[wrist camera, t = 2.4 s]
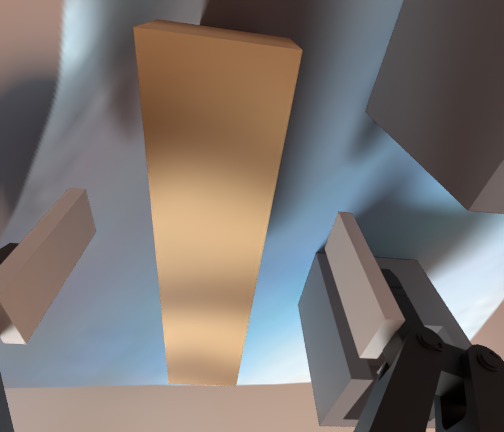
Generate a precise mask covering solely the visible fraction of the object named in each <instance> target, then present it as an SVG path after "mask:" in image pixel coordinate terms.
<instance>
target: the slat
mask: <svg viewBox="0 0 504 432" xmlns="http://www.w3.org/2000/svg"><path fill="white" fill-rule="evenodd" d="M133 28H134V38H135V48H136V59H137V69H138V79H139V89H140V99H141V109H142V119H143V129H144V139H145V149H146V159H147V169H148V180H149V190H150V200H151V210H152V220H153V230H154V240H155V250H156V260H157V270H158V280H159V290H160V301H161V311H162V321H163V331H164V341H165V351H166V361H167V371H168V381H169V384H191V385H224V386H236V383H237V378H238V373H239V368H240V363H241V358H242V353H243V348H244V343H245V338H246V333H247V328H248V323H249V318H250V313H251V308H252V303H253V298H254V293H255V288H256V283H257V278H258V273H259V267H260V262H261V257H262V252H263V247H264V242H265V237H266V232H267V227H268V222H269V217H270V212H271V207H272V202H273V197H274V192H275V187H276V182H277V177H278V172H279V167H280V162H281V157H282V152H283V147H284V141H285V136H286V131H287V126H288V121H289V116H290V111H291V106H292V101H293V96H294V91H295V86H296V81H297V76H298V71H299V66H300V61H301V56H302V51H303V50H302V49H301V48H300V47H299V46H298V45H296V44H295V43H294V42H293V41H292V40H291V39H290V38H285V37H278V36H271V35H264V34H257V33H250V32H243V31H236V30H229V29H222V28H215V27H208V26H201V25H194V24H187V23H180V22H173V21H165V20H155V21H151V22H148V23H145V24H141V25H138V26H134V27H133Z"/></svg>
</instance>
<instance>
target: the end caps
mask: <svg viewBox="0 0 504 432" xmlns="http://www.w3.org/2000/svg"><path fill="white" fill-rule="evenodd" d="M365 112H366V113H367V114H368V115H369V116H370V117H371V118H372V119H373V120H374V121H375V122H376V123H377V124H378V125H379V126H381V127H382V128H383V129H384V130H385V131H386V132H387V133H388V134H389V135H390V136H391V137H392V138H393V139H394V140H395V141H396V142H397V143H398V144H399V145H400V146H401V147H402V148H403V149H404V150H405V151H406V152H408V153H409V154H410V155H411V156H412V157H413V158H414V159H415V160H416V161H417V162H418V163H419V164H420V165H421V166H422V167H423V168H424V169H425V170H426V171H427V172H428V173H429V174H430V175H431V176H432V177H434V178H435V179H436V180H437V181H438V182H439V183H440V184H441V185H442V186H443V187H444V188H445V189H446V190H447V191H448V192H449V193H450V194H451V195H452V196H453V197H454V198H455V199H456V200H457V201H458V202H459V203H461V204H462V205H463V206H464V207H465V208H466V209H467V210H468V211H476V212H487V213H498V214H504V0H404V2H403V4H402V7H401V10H400V13H399V16H398V19H397V22H396V25H395V27H394V30H393V33H392V36H391V39H390V42H389V45H388V48H387V50H386V53H385V56H384V59H383V62H382V65H381V68H380V71H379V73H378V76H377V79H376V82H375V85H374V88H373V91H372V94H371V96H370V99H369V102H368V105H367V108H366V111H365ZM374 258H375V260H376V262H377V264H378V266H379V268H381V269H390V270H391V271H392V272H393V273H394V274H395V275H396V276H397V277H398V279H399V281H400V283H401V284H402V286H403V289H404V290H405V292H406V294H407V297H409V299H410V301H411V303H412V305H413V306H414V308H415V310H416V312H417V314H418V316H419V317H420V319H421V321H422V323H423V325H424V326H425V327H427V328H429V329H431V330H433V331H434V332H435V333H437V334H438V335H439V336H440V338H441V339H442V340H443V342H444V343H447V344H450V345H452V346H455V347H458V348H461V349H464V350H467V349H468V348H469V347H470V346H471V345H472V344H471V342H470V341H469V339H468V338H467V336H466V335H465V333H464V332H463V330H462V329H461V327H460V326H459V324H458V323H457V321H456V320H455V318H454V316H453V315H452V313H451V312H450V310H449V309H448V307H447V306H446V304H445V303H444V301H443V300H442V298H441V297H440V295H439V293H438V292H437V290H436V289H435V287H434V286H433V284H432V283H431V281H430V280H429V278H428V277H427V275H426V274H425V272H424V270H423V269H422V267H421V266H420V264H419V263H418V261H417V260H405V259H392V258H378V257H374ZM298 308H299V314H300V319H301V325H302V331H303V336H304V342H305V348H306V353H307V359H308V365H309V371H310V376H311V382H312V388H313V393H314V399H315V404H316V410H317V416H318V422H319V426H342V427H356V425H357V423H358V421H359V418H360V416H361V414H362V411H363V409H364V407H365V405H366V402H367V400H368V398H369V396H370V393H371V391H372V389H373V386H374V384H375V382H376V380H377V377H378V375H379V374H377V371H378V370H379V369H380V368H381V366H382V365H383V364H384V362H385V361H386V358H385V356H384V353H383V351H382V353H381V354H380V355H379V357H378V358H377V359H373V358H359V354H358V351H357V348H356V345H355V342H354V339H353V336H352V333H351V329H350V326H349V323H348V320H347V317H346V314H345V311H344V308H343V304H342V301H341V298H340V295H339V292H338V289H337V286H336V283H335V279H334V276H333V273H332V270H331V267H330V264H329V261H328V258H327V254H325V253H316V254H315V257H314V260H313V263H312V266H311V269H310V272H309V275H308V277H307V280H306V283H305V286H304V289H303V292H302V295H301V298H300V300H299V303H298ZM427 428H435V408H434V401H433V405H432V409H431V413H430V417H429V420H428V424H427Z"/></svg>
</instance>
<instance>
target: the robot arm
mask: <svg viewBox="0 0 504 432" xmlns="http://www.w3.org/2000/svg"><path fill="white" fill-rule="evenodd" d="M95 232H96V228H95V224H94V220H93V216H92V212H91V208H90V204H89V200H88V196H87V192H86V189H78V188H69V189H68V190H67V191H66V193H65V194H64V195H63V196H62V197H61V198H60V199H59V200H58V201H57V203H56V204H55V205H54V206H53V207H52V208H51V209H50V210H49V211H48V213H47V214H46V215H45V216H44V217H43V218H42V219H41V220H40V221H39V223H38V224H37V225H36V226H35V227H34V228H33V229H32V230H31V231H30V233H29V234H28V235H27V236H26V237H25V238H24V239H23V240H22V241H21V243H20V244H19V243H9V244H8V245H6V246H4V247H3V248H1V249H0V338H1V339H2V341H3V342H4V343H12V344H26V343H27V342H28V340H29V339H30V337H31V335H32V334H33V332H34V330H35V329H36V327H37V326H38V324H39V322H40V321H41V319H42V318H43V316H44V314H45V313H46V311H47V310H48V308H49V306H50V305H51V303H52V302H53V300H54V298H55V297H56V295H57V294H58V292H59V290H60V289H61V287H62V286H63V284H64V282H65V281H66V279H67V277H68V276H69V274H70V273H71V271H72V269H73V268H74V266H75V265H76V263H77V261H78V260H79V258H80V257H81V255H82V253H83V252H84V250H85V249H86V247H87V245H88V244H89V242H90V241H91V239H92V237H93V236H94V234H95ZM325 251H326V254H327V258H328V261H329V264H330V267H331V270H332V273H333V276H334V279H335V283H336V286H337V289H338V292H339V295H340V298H341V301H342V304H343V308H344V311H345V314H346V317H347V320H348V323H349V326H350V329H351V333H352V336H353V339H354V342H355V345H356V348H357V351H358V354H359V358H373V359H377V358H378V357H379V355H380V354H381V353H382V351H383V353H384V356H385V358H386V361H385V362H384V364H383V365H382V366H381V368H380V369H379V370H378V371H377V374H379V375H378V377H377V380H376V382H375V384H374V386H373V389H372V391H371V393H370V396H369V398H368V400H367V402H366V405H365V407H364V409H363V411H362V414H361V416H360V418H359V421H358V423H357V425H356V427H355V430H354V432H426V428H427V424H428V420H429V417H430V413H431V409H432V405H433V401H434V408H435V430H436V432H504V361H503V360H502V359H501V357H500V356H499V355H497V354H496V353H495V352H494V351H492V350H490V349H489V348H487V347H485V346H481V345H478V344H477V345H471V346H470V347H469V348H468V349H467V350H464V349H461V348H458V347H455V346H452V345H450V344H447V343H444V342H443V340H442V339H441V338H440V336H439V335H438V334H437V333H435V332H434V331H433V330H431V329H429V328H427V327H425V326H424V325H423V323H422V321H421V319H420V317H419V316H418V314H417V312H416V310H415V308H414V306H413V305H412V303H411V301H410V299H409V297H407V294H406V292H405V290H404V289H403V286H402V284H401V283H400V281H399V279H398V277H397V276H396V275H395V274H394V273H393V272H392V271H391V270H390V269H381V268H379V266H378V264H377V262H376V260H375V258H374V256H373V254H372V252H371V250H370V248H369V246H368V244H367V242H366V240H365V238H364V236H363V234H362V232H361V230H360V228H359V226H358V224H357V222H356V220H355V218H354V216H353V214H352V213H349V212H338V214H337V216H336V219H335V222H334V225H333V227H332V230H331V233H330V235H329V238H328V241H327V244H326V246H325ZM0 432H14V429H13V425H12V421H11V416H10V412H9V408H8V403H7V399H6V395H5V391H4V386H3V382H2V378H1V373H0Z"/></svg>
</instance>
